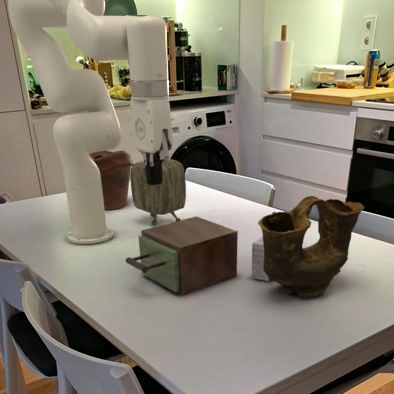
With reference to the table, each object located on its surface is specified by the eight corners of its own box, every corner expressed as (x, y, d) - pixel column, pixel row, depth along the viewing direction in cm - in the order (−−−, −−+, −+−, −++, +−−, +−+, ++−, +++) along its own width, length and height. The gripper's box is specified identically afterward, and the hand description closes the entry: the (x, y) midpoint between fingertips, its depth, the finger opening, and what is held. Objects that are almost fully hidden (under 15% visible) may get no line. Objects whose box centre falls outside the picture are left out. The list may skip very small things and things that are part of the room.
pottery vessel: (329, 267, 121) (339, 182, 110) (364, 283, 113) (379, 192, 103) (244, 293, 110) (247, 201, 99) (277, 312, 102) (284, 214, 91)
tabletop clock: (187, 223, 152) (184, 133, 139) (166, 231, 146) (161, 138, 133) (152, 214, 160) (146, 129, 147) (131, 222, 154) (123, 133, 141)
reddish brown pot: (87, 197, 180) (80, 143, 171) (142, 198, 177) (138, 143, 168) (69, 211, 165) (60, 153, 156) (129, 213, 162) (124, 153, 153)
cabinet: (181, 295, 110) (180, 247, 104) (144, 275, 120) (141, 230, 114) (236, 276, 118) (237, 231, 112) (197, 258, 128) (196, 216, 122)
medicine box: (268, 282, 114) (270, 245, 110) (250, 278, 117) (251, 242, 112) (282, 270, 120) (285, 234, 116) (265, 267, 122) (267, 231, 118)
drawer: (153, 300, 106) (150, 259, 101) (120, 279, 115) (116, 242, 111) (227, 274, 116) (227, 237, 112) (191, 258, 126) (190, 222, 121)
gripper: (115, 88, 105) (122, 179, 115) (153, 94, 95) (158, 194, 105) (146, 86, 109) (151, 174, 119) (186, 91, 98) (188, 188, 108)
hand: (154, 183), depth 112 cm, fingers closed
